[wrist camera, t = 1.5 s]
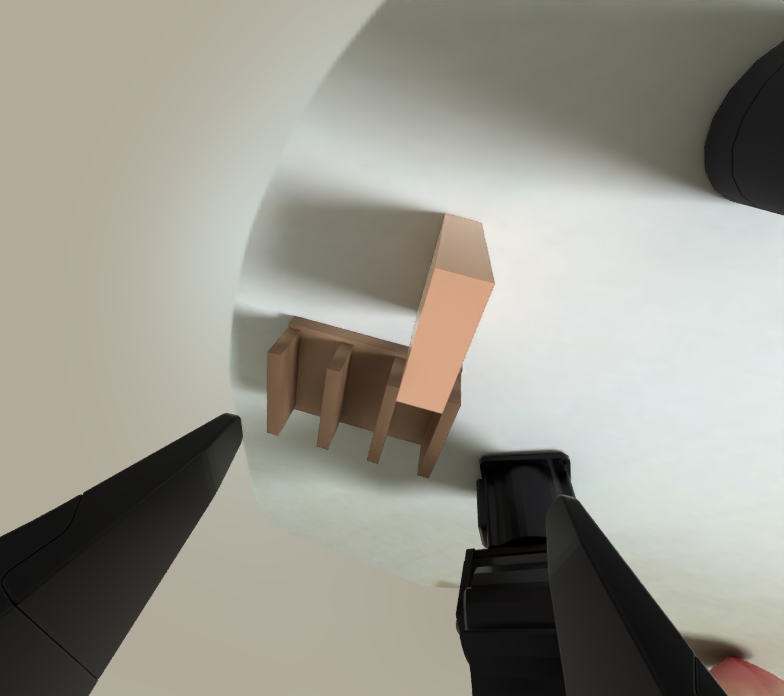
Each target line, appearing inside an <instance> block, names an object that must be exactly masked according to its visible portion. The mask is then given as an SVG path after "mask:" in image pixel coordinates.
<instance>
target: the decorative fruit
mask: <svg viewBox="0 0 784 696" xmlns="http://www.w3.org/2000/svg"><path fill="white" fill-rule="evenodd" d="M709 672H710V673H711V674H712V675H713V677H714V678H715V679H716V681H717V682H718V683H719V684H720V686H721V687H722V688H723V690H724V691H725V692H726V693H727V695H728V696H784V681H783V680H781V679H780V678H778V677H777V676H775V675H773V674H771V673H770V672H768V671H766V670H764V669H762V668H760V667H758V666H756V665H753V664H751V663H749V662H746V661H744V660H741V659H738V658H735V657H727V658H726V659H725V660H723V661H722V662H720V663H719V664H717V665H716V666H715V667H713V668H712V669H711V670H710V671H709Z"/></svg>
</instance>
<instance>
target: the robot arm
mask: <svg viewBox="0 0 784 696" xmlns="http://www.w3.org/2000/svg"><path fill="white" fill-rule="evenodd" d="M242 438H243V432H242V424H241V418H240V417H239V416H238V415H233V414H229V413H225V414H222V415H220V416H218V417H217V418H215V419H213V420H211V421H210V422H208V423H206V424H204V425H202V426H201V427H199V428H197V429H195V430H194V431H192V432H190V433H188V434H187V435H185V436H183V437H182V438H180V439H178V440H176V441H174V442H172V443H171V444H169V445H167V446H165V447H164V448H162V449H160V450H158V451H156V452H155V453H153V454H151V455H149V456H148V457H146V458H144V459H142V460H140V461H139V462H137V463H135V464H133V465H131V466H130V467H128V468H126V469H124V470H123V471H121V472H119V473H117V474H115V475H114V476H112V477H110V478H108V479H107V480H105V481H103V482H101V483H100V484H98V485H96V486H94V487H92V488H91V489H89V490H87V491H85V492H84V493H83V495H78V496H76V497H75V498H73V499H71V500H69V501H67V502H66V503H64V504H62V505H60V506H58V507H57V508H55V509H53V510H51V511H49V512H47V513H46V514H44V515H42V516H40V517H39V518H36V519H34V520H33V521H31V522H29V523H27V524H25V525H23V526H21V527H19V528H17V529H15V530H13V531H11V532H9V533H7V534H5V535H3V536H1V537H0V696H89V694H90V693H91V691H92V690H93V688H94V686H95V685H96V683H97V681H98V679H99V678H100V676H101V675H102V673H103V672H104V670H105V668H106V667H107V665H108V664H109V662H110V660H111V659H112V657H113V656H114V654H115V653H116V651H117V649H118V648H119V646H120V645H121V643H122V642H123V640H124V639H125V637H126V635H127V634H128V632H129V630H130V629H131V627H132V626H133V624H134V622H135V621H136V620H137V618H138V616H139V615H140V613H141V612H142V610H143V608H144V607H145V605H146V604H147V602H148V600H149V599H150V597H151V596H152V594H153V593H154V591H155V589H156V588H157V586H158V585H159V583H160V582H161V580H162V578H163V577H164V575H165V573H166V572H167V570H168V569H169V567H170V565H171V564H172V563H173V561H174V559H175V558H176V556H177V555H178V553H179V551H180V550H181V548H182V547H183V545H184V543H185V542H186V540H187V539H188V537H189V535H190V534H191V533H192V531H193V529H194V528H195V526H196V525H197V523H198V521H199V520H200V518H201V517H202V515H203V513H204V512H205V510H206V509H207V507H208V506H209V504H210V502H211V501H212V499H213V498H214V496H215V494H216V492H217V491H218V488H219V487H220V485H221V483H222V481H223V479H224V477H225V475H226V473H227V471H228V469H229V467H230V464H231V462H232V460H233V458H234V457H235V454H236V452H237V450H238V448H239V446H240V444H241V442H242ZM561 460H562V461H561ZM479 463H480V470H481V475H482V479H478V480H477V481H476V485H477V510H478V528H479V532H480V536H481V541H482V545H483V546H484V547H485V548H488V549H478V550H475V549H474V548H473V549H467V550H466V556H465V561H464V565H463V571H462V578H461V584H460V590H459V598H458V604H457V611H456V618H457V620H456V629H457V632H458V633H459V635H460V640H461V644H462V648H463V651H464V655H465V657H466V659H467V662H468V663H469V665H470V672H471V682H472V695H473V696H728V695H727V693H726V692H725V691H724V690H723V688H722V687H721V686H720V684H719V683H718V682H717V681H716V679H715V678H714V677H713V675H712V674H711V673H710V672H709V670H708V669H707V668H706V666H705V665H704V664H703V662H702V661H701V660H700V658H699V657H697V656H695V652H694V651H693V650H692V648H691V647H690V646H689V644H688V643H687V642H686V640H685V639H684V638H683V636H682V635H681V634H680V633H679V631H678V630H677V629H676V627H675V626H674V625H673V623H672V622H671V621H670V619H669V618H668V617H667V616H666V614H665V613H664V612H663V610H662V609H661V608H660V606H659V605H658V604H657V602H656V601H655V600H654V599H653V597H652V596H651V595H650V593H649V592H648V591H647V589H646V588H645V587H644V585H643V584H642V583H641V582H640V580H639V579H638V578H637V576H636V575H635V574H634V572H633V571H632V570H631V568H630V567H629V566H628V565H627V563H626V562H625V561H624V559H623V558H622V557H621V555H620V554H619V553H618V551H617V550H616V549H615V548H614V546H613V545H612V544H611V542H610V541H609V540H608V538H607V537H606V536H605V534H604V533H603V532H602V531H601V529H600V528H599V527H598V525H597V524H596V523H595V521H594V520H593V519H592V517H591V516H590V515H589V514H588V512H587V511H586V510H585V508H584V507H583V506H582V504H581V503H580V502H579V501H578V500H577V499H576V497H575V494H574V490H573V487H572V484H571V470H570V459H569V456H568V455H566V454H541V455H518V456H495V457H482V458H481V459H480V461H479Z"/></svg>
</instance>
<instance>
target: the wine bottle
mask: <svg viewBox="0 0 784 696" xmlns="http://www.w3.org/2000/svg"><path fill="white" fill-rule="evenodd" d="M705 170H706V172H707V174H708V177H709V179H710V181H711V183H712V185H713V187H714V189H716V190H717V191H718V192H720V193H721V194H722V195H724V196H725V197H726V198H728V199H729V200H730V201H733V202H737V203H741V204H744V205H748V206H751V207H755V208H759V209H762V210H766V211H770V212H773V213H777V214H780V215H784V41H783V42H782V43H781V44H779V45H778V46H776V47H775V48H774V49H772V50H771V51H770V52H768V53H767V54H766V55H764V56H763V57H761V58H760V59H759V60H757V61H756V62H755V63H754V65H753V66H752V67H751V68H750V69H749V70H748V71H747V72H746V73H745V74H744V75H743V77H742V78H741V79H740V80H739V81H738V82H737V83H736V84H735V85H734V86H733V87H732V88H731V90H730V91H729V93H728V95H727V96H726V98H725V100H724V101H723V103H722V105H721V106H720V108H719V110H718V111H717V113H716V115H715V116H714V118H713V121H712V124H711V127H710V130H709V134H708V137H707V140H706V144H705Z"/></svg>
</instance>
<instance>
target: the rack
mask: <svg viewBox="0 0 784 696" xmlns="http://www.w3.org/2000/svg"><path fill="white" fill-rule="evenodd" d="M408 349H409V347H406V346H402V345H399V344H395V343H391V342H388V341H384V340H380V339H377V338H373V337H369V336H366V335H362V334H358V333H355V332H351V331H347V330H344V329H340V328H336V327H333V326H329V325H325V324H322V323H318V322H314V321H311V320H307V319H303V318H300V317H296V316H295V317H294V318H293V319H292V321H291V322H290V323H289V328H288V329H287V330H286V331H285V332H284V334H283V335H282V336H281V337H280V338H279V339H278V340H277V342H276V343H275V344H274V345H273V346H272V347H271V349H270V350H269V351H268V370H267V433H271V434H274V435H279V433H280V432H281V430H282V428H283V427H284V425H285V423H286V421H287V420H288V418H289V416H290V415H291V413H292V411H293V410H294V409H296V410H299V411H303V412H306V413H310V414H313V415H317V416H321V418H320V426H319V433H318V441H317V447H320V448H324V449H327V450H328V448H329V446H330V443H331V441H332V439H333V436H334V434H335V431H336V429H337V427H338V424H339V422H342V423H346V424H349V425H353V426H356V427H360V428H363V429H367V430H371V431H374V436H373V439H372V443H371V447H370V451H369V455H368V458H367V461H370V462H373V463H377V464H378V462H379V459H380V456H381V452H382V449H383V445H384V442H385V439H386V435H388V436H392V437H395V438H399V439H403V440H406V441H410V442H413V443H417V444H420V445H421V451H420V458H419V466H418V474H417V475H419V476H423V477H426V478H429V476H430V474H431V472H432V469H433V467H434V465H435V463H436V460H437V458H438V456H439V454H440V451H441V449H442V447H443V445H444V442H445V440H446V438H447V435H448V433H449V431H450V429H451V426H452V424H453V422H454V420H455V417H456V415H457V413H458V411H459V408H460V406H461V373H462V366H461V368H460V371H459V373H458V376H457V378H456V381H455V383H454V386H453V388H452V391H451V393H450V395H449V398H448V400H447V403H446V405H445V408H444V410H443V413H442V414H441V413H438V412H434V411H431V410H427V409H423V408H420V407H416V406H412V405H409V404H405V403H402V402H398V401H396V399H397V395H398V391H399V387H400V383H401V378H402V374H403V370H404V366H405V362H406V357H407V353H408Z"/></svg>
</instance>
